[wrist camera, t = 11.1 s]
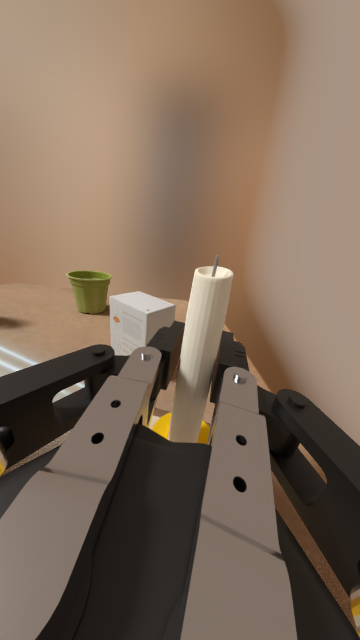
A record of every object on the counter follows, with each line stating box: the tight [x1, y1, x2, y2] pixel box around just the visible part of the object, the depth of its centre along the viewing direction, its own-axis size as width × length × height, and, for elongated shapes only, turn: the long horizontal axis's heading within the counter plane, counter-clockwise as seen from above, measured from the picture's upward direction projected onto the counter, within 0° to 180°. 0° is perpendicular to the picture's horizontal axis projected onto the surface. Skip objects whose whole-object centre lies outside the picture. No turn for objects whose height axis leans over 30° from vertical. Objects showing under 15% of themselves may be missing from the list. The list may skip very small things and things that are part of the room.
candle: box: [151, 255, 233, 444], centre depth 10 cm, size 5×5×16 cm
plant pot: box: [66, 271, 112, 314], centre depth 45 cm, size 9×9×9 cm
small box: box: [109, 291, 176, 356], centre depth 29 cm, size 8×6×10 cm
